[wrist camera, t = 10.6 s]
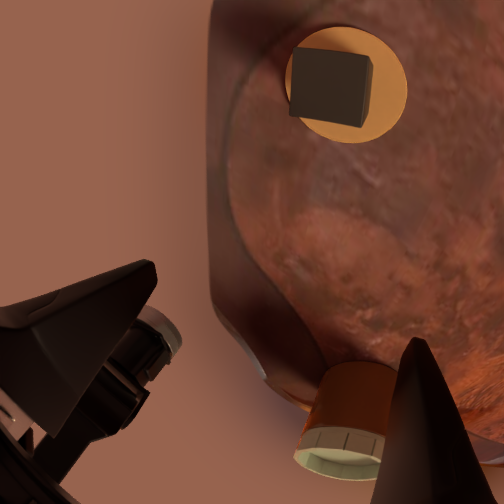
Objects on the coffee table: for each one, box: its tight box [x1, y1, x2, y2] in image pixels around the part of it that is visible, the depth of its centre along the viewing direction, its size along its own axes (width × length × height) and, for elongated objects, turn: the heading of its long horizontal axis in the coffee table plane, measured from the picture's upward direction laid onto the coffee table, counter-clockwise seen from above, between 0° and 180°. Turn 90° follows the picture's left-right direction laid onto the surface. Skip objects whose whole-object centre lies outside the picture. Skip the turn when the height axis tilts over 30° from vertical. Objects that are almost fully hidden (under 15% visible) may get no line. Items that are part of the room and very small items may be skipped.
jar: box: [293, 361, 398, 481], centre depth 24 cm, size 9×9×9 cm
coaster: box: [285, 27, 407, 143], centre depth 14 cm, size 7×7×1 cm
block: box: [289, 47, 373, 128], centre depth 12 cm, size 3×3×6 cm
